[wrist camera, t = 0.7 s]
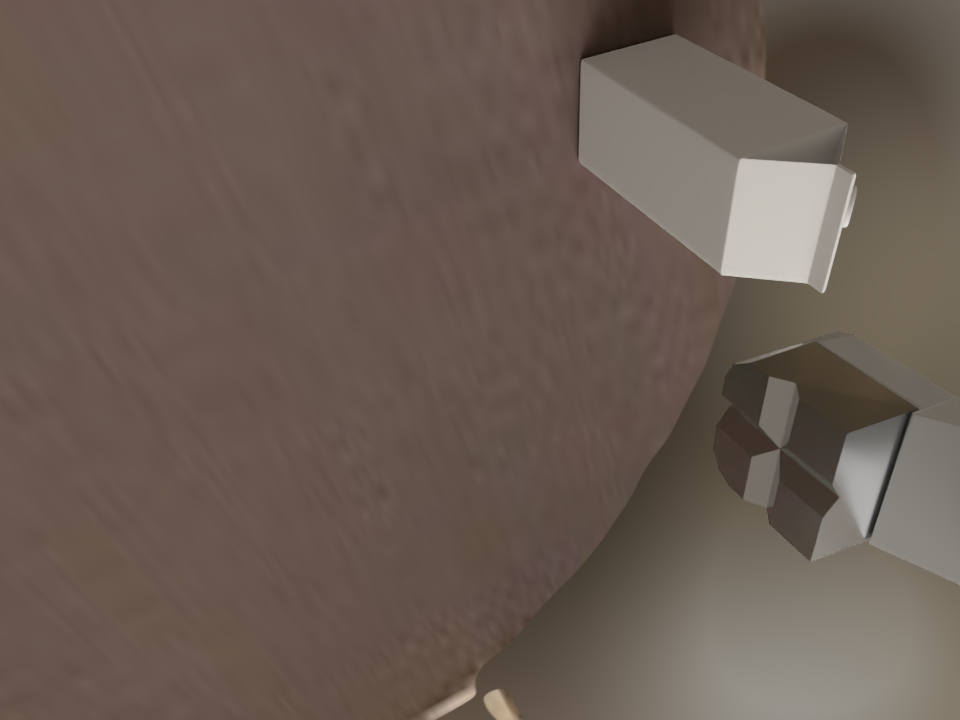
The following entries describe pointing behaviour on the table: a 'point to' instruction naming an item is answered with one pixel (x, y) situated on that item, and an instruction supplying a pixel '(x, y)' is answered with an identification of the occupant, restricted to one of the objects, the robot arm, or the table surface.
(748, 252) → the milk carton
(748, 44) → the table surface
